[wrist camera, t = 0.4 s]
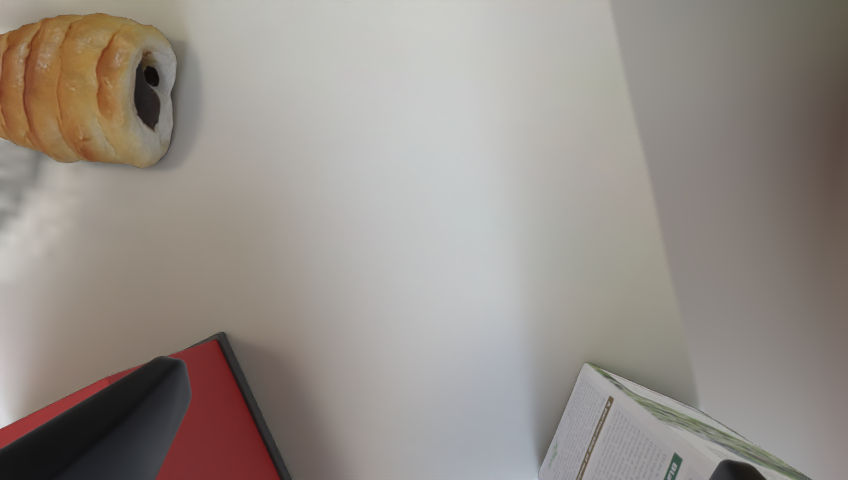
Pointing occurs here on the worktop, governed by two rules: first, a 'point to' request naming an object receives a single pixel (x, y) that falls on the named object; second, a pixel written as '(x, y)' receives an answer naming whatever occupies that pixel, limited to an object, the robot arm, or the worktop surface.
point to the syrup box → (644, 437)
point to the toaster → (198, 421)
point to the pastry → (88, 89)
